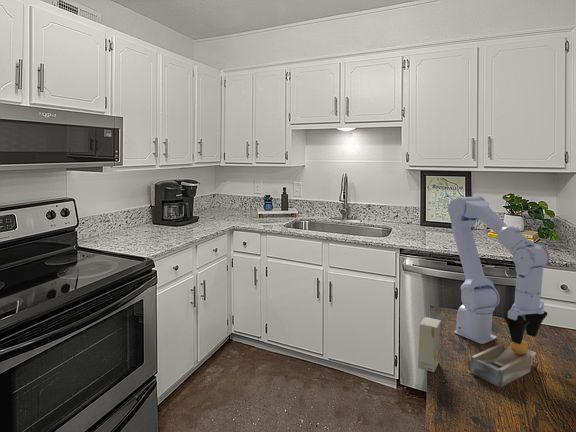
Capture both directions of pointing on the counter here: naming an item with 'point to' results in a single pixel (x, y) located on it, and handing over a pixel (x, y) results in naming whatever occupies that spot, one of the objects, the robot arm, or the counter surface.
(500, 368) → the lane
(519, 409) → the counter surface
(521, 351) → the ball
